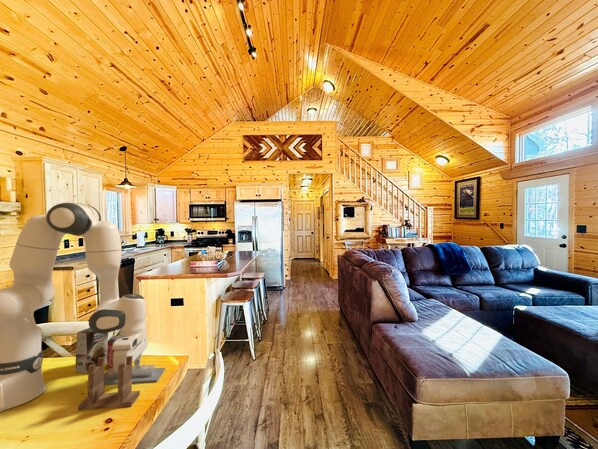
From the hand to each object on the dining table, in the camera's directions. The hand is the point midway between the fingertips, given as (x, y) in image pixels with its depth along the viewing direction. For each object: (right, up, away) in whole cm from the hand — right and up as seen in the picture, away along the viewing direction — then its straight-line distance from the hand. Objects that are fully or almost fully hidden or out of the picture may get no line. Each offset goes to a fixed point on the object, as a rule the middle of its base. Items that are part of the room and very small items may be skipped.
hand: (131, 370), depth 103 cm
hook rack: (+2, -2, -15) cm, 15 cm away
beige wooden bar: (0, -2, 0) cm, 2 cm away
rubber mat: (0, -3, 0) cm, 3 cm away
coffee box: (-21, -3, +7) cm, 23 cm away
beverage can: (-12, -3, +8) cm, 15 cm away
